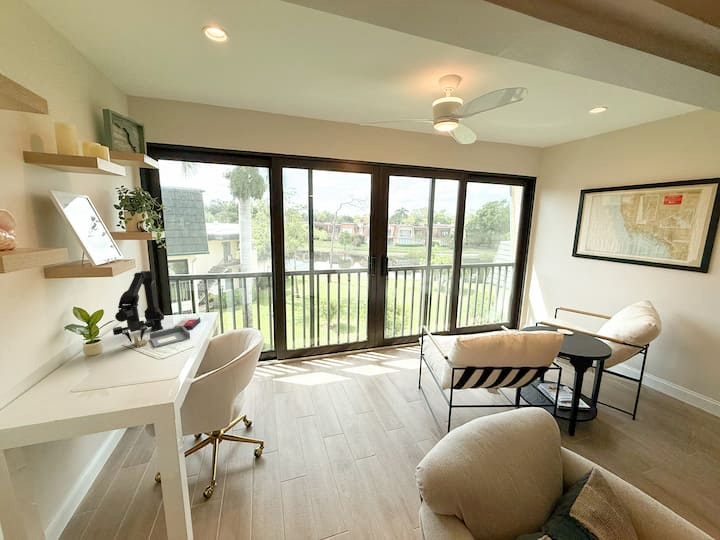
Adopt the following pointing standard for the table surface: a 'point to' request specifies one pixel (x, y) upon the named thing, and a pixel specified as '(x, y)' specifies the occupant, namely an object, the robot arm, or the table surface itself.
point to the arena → (169, 336)
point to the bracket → (139, 343)
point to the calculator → (189, 323)
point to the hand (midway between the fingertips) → (136, 341)
